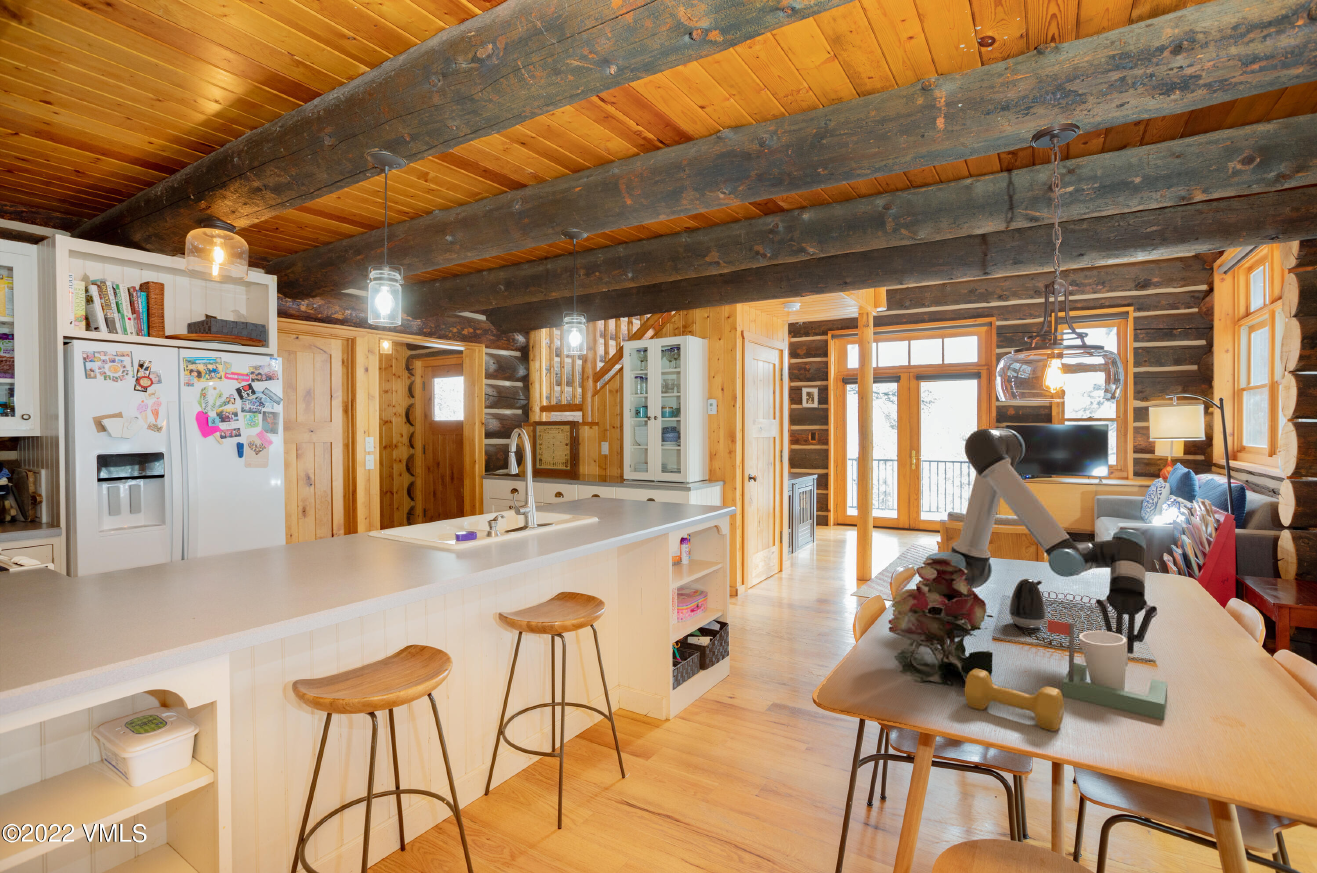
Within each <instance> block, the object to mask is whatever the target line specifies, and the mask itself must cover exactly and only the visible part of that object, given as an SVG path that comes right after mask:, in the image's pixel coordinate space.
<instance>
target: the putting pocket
mask: <svg viewBox="0 0 1317 873" xmlns="http://www.w3.org/2000/svg"><path fill="white" fill-rule="evenodd" d="M1046 629H1047V633H1052V634H1056V635H1057V634H1058V635H1062V636H1067V637H1069V638H1068V642H1069V643H1068V671H1067V673H1066V674H1065V676H1064V678H1063V680H1062V696H1063V697H1066V698H1071V699H1074V700H1078V701H1079V700H1080V701H1084V702H1087V703H1092V704H1097V705H1099V706H1103V707H1107V708H1113V709H1116V710H1121V711H1124V712H1129V713H1133V714H1138V715H1142V716H1146V717H1150V718H1154V719H1159V720H1162V721H1164V720H1165V715H1166V709H1167V708H1166V707H1167V702H1168V701H1167V700H1168V681H1163V680H1160V679H1159V680H1158V679H1154V678H1151V679H1150V685H1149V690H1148V694H1147V695H1145V694H1142V693H1136V692H1132V691H1127V690H1125V689H1124V690H1119V689H1115V688H1110V687H1106V686H1101V685H1097V684H1092V683H1091V682H1087V679H1088V677H1087V676H1088V669H1087V666H1086V664H1083V663H1077V662H1075V622H1071V621H1070V622H1064V621H1060V620H1055V619H1054V620H1052V619H1047V628H1046Z"/></svg>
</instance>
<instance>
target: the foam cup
mask: <svg viewBox="0 0 1317 873" xmlns="http://www.w3.org/2000/svg"><path fill="white" fill-rule="evenodd" d="M1126 638H1127V637H1126V636H1124V635H1123V634H1122V635H1120V634H1116V633H1113V632H1107V630H1106V631H1105V630H1089V631H1085V632H1082V633H1080V634H1079V643H1080V644H1079V645H1080V648H1081V650H1082V654H1083V658H1084V661H1085V665H1086V666H1087V674H1088V676H1089V681H1090V683H1092V684H1097V685H1101V686H1106V687H1110V688H1115V689H1119V690H1124V691H1125V687H1126V686H1125V683H1126V668H1127V667H1126V651H1127V641H1126Z"/></svg>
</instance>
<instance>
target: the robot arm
mask: <svg viewBox="0 0 1317 873" xmlns="http://www.w3.org/2000/svg"><path fill="white" fill-rule="evenodd" d="M1025 445H1026V444H1025V442H1024V440H1023V438H1022V436H1021V435H1020V434H1018V433H1017V432H1016V431H1015V430H1012V429H1010V428H1004V427H1003V428H1002V427H999V428H980V429H978V430H975V431H974V432H972V433H970V435H969V436H967V438H966V441H965V443H964V453H965V456H966V458H967V461H968V462H969V464H970V465H971V466H972V468H973V469H974V471H975V476H974V480H973V485H972V488H971V491H970V496H969V499H968V504H967V507H966V511H965V515H964V520H963V523H962V527H961V531H960V533H959V534H960V535H959V539H958V540H957V541H956V542H953V543H952V545H951V548H950V551H941V552H933V553H930V554H929V555H927V556H926V557H925V560H924V561H926V560H927V559H928V558H938V557H939V558H940V557H943V558H947V559H950V560H952V564H954V565H956V566H958V567H960V568H963V569H965V570H966V571H967V574H966V575H965V578H964V580H966V581H968V583H967V585H968V586H970V588H971V589H973V590H974V589H978V588H980V587H982V586H983V585H984V584H986V583H987V582H988V581H989V580H990V579H991V577H992V572H993V566H992V563H991V562H990V560H991V556H992V555H991V554H992V553H991V552H990V551H989V549H988V548H989V547H988V546H989V544H990V543H989V542H990V539H991V535H992V531H993V528H994V524H995V520H996V517H997V514H998V509H999V506H1000V501H1001V499H1002V500H1003V502H1004V503H1005V504H1006V505H1007V506H1008V508H1009V509H1010V510H1011V511H1012V513H1013V514H1014V515H1015V516H1016V518H1017V519H1018V520H1019V521H1020V522H1021V524H1022V525H1023V527H1025V529H1026V530H1027V532H1028V533H1029V534H1030V535H1031V536H1032V538H1033V539H1034V540H1035V542H1036V543H1037V544H1038V545H1039V546H1040V548H1041V549H1042V551H1043V552H1044V553H1045V555H1047V556H1046V557H1048V565H1049V569H1050V570H1051V571H1052V572H1053V573H1055V574H1056V575H1058V576H1060V577H1064V578H1070V577H1074V576H1079V575H1081V574H1082V573H1084V572H1088V571H1090V570H1094V569H1106V568H1108V569H1110V571H1109V572H1110V573H1109V574H1110V575H1109V588H1108V589H1109V591H1108V595H1106V597H1105V599H1098V598H1097V599H1096V600H1095V601H1096V606H1097V608H1098V609H1099V611H1100V613H1101V615H1102V618H1103V622H1104V626H1105V629H1106V632H1113V633H1116V634H1120V635H1122V636H1123V630H1124V629H1123V628H1124V615H1127V616H1128V617H1127V618H1128V619H1127V634H1126V635H1127V637H1125V638H1126V641H1127V651H1126V668H1128V662H1129V661H1128V660H1129V657H1128V656H1129V655H1133V654H1134V650H1135V648H1134V647H1135V643H1136V642H1138V643H1142V642H1144V640H1145V638H1146V635H1147V632H1148V629H1149V627H1150V626H1151V623H1152V620H1153V619H1154V618H1155V617H1156V616H1157V615H1158V608H1157V607H1156V606H1155V605H1150V604H1148V603H1147V599H1146V585H1145V584H1146V562H1147V561H1146V560H1147V548H1146V547H1147V546H1146V539H1145V537H1144V535H1142V533H1140V532H1138V531H1135V530H1131V529H1119V530H1118V531H1115V532H1113V534H1112V537H1111V539H1105V540H1096V541H1081V542H1080V541H1073V540H1072V538H1071V537H1070V536H1069V535H1068V534H1067V532H1066V531H1065V529H1064V528H1063V527H1062V526H1061V524H1059V522H1058V521H1057V520H1056V519H1055V518H1054V516H1053V515H1052V514H1051V512H1050V511H1049V510H1048V509H1047V508H1046V507H1045V505H1044V504H1043V503H1042V501H1040V499H1039V498H1038V497H1037V495H1036V494H1035V493H1034V492H1033V490H1031V488H1030V487H1029V486H1028V484H1027V483H1026V482H1025V481H1024V479H1022V477H1021V476H1020V475H1019V473H1018V472H1017V471H1016V470H1015V468H1016V465H1017V464H1018V462H1020V461H1021V460H1022V459H1023V457H1024V455H1025V452H1026V446H1025ZM1109 606H1110V607H1111V608H1112V609H1113V611H1114V612H1116V616H1115V617H1116V619H1115V620H1116V621H1115V630H1114V629H1113V626H1112V623H1111V619H1110V616H1109V612H1108V607H1109ZM1143 610H1144V615H1143V617H1142V620H1141V623H1140V625H1139V627H1138V630H1137V632H1136V629H1135V627H1136V616H1137V615H1138V614H1140V613H1141V612H1142V611H1143ZM968 632H969V633H971V632H972V631H968ZM1135 632H1136V634H1135ZM954 634H955V637H964V636H965V637H966V636H967V635H966V634H964V633H962V632H959V631H954ZM971 634H972V633H971Z"/></svg>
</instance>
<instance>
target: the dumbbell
mask: <svg viewBox="0 0 1317 873" xmlns="http://www.w3.org/2000/svg"><path fill="white" fill-rule="evenodd" d="M991 676H992V675H989V673H988V672H987V671H984V670H981V669H973V670H972V671H971V672H969V674H968V675H967V678H966V681H965V686H964V689H965V690H964V698H965V700H966V701H965V702H966V703H967V705H968V707H969V708H972V709H976V710H980V711H982V710H984V709H986V708H987V707H988V706H989V705H990V704H991V703H992V702H996V703H999V704H1000V705H1001V704H1002V705H1005V706H1008V707H1012V708H1015V709H1019V710H1024V711H1029V712H1031V713H1032V714H1033V715H1034V718H1035V722H1036V723H1037V725H1038V726H1039V727H1040V728H1041V729H1044V730H1047V731H1050V732H1056V731H1058V729H1059V728H1060V726H1062V723H1063V719H1064V712H1065V703H1064V698H1063V697H1064V696H1063V692H1062V691H1061V690H1060V689H1058V688H1056V687H1052V686H1051V687H1050V686H1043V687H1042V688H1041V689H1039V690H1038V691H1037V692H1036V693H1035V694H1033V695H1031V694H1027V693H1024V692H1021V691H1018V690H1014V689H1010V688H1006V687H1001V686H998V685H995V684H994V682H993V678H992V677H991Z"/></svg>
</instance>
